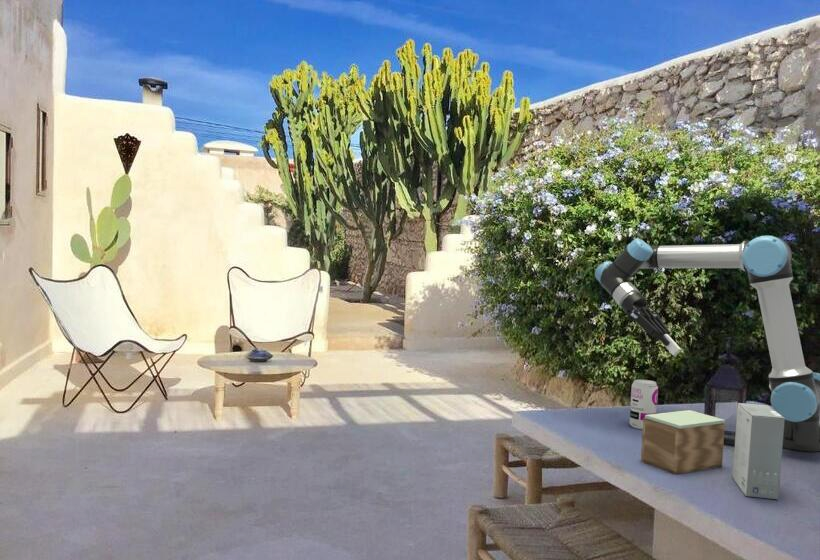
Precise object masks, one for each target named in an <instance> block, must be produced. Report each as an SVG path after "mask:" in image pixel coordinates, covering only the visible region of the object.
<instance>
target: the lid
mask: <svg viewBox="0 0 820 560" xmlns="http://www.w3.org/2000/svg"><path fill="white" fill-rule="evenodd" d="M645 418H647V419H650V420H653V421H656V422H660V423H663V424H666V425H669V426H673V427H676V428H679V429H682V428H690V427H698V426H705V425H713V424H721V423H725V424H726V419H723V418H719V417H716V416H713V415H709V414H706V413H702V412H698V411H695V410H690V409H688V410H679V411H669V412H662V413H661V412H660V413H657V414H650V415H645Z"/></svg>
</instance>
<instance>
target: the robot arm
mask: <svg viewBox="0 0 820 560" xmlns="http://www.w3.org/2000/svg"><path fill="white" fill-rule="evenodd" d="M792 257H793V254H792V250H791V247H790V245H789V244H788V243H787V242H786V241H785V240H783V239H782V238H779V237H776V236H774V235H769V234H767V235H761V236H757V237H754V238H752V240H743V241H742V242H741V243H737V244H735V243H734V244H733V243H731V244H729V243H728V244H725V243H724V244H690V245H689V244H688V245H687V244H686V245H649V244H648V243H647V242H645V241H644V240H642V239H641V238H638V237H636V238H634V239H633V240H632V241H631V242H630V243H628V244H627V246H626V247H625V248H624V249H623V250H622V251H621V253H620V254H619V255H618V256H617V257H616V258H615V260H613V261H611V260H607V261H604V262H602V264H599V265H598V266H597V267H596V269H595V271H594V277H595V279H596V280H597V281H598V282H599V284H600V286H601V287H603V289H605V291H606V292H607V293H608V294H609V295H610V296H611V297H612V298H613V300H614V301H615V303H616V304H617V305H619V307H621V309H622V310H623V311H624V312H625V314H626V315H628V316H629V317H630V319H632V320H633V321H634V322H636V324H637V325H639V326H640V327H641V328H642V329H643V330H644V331H645V332H646V333H648V335H649V336H651V338H655V339H654V341H655V342H658V341H660V343H661V344H662V345H663V346H664V348H666V349H667V351H669V353H670V354H671V355H672V356H675V357H677V355H678V354H679V353H680V351H682V348H681V347H680V346H679V345H678V343H676V341H674V339H672V337H671V336H670V335H671V331H670V330H669V328H668V327H667V325H666V324H665V323H664V321H663V320H662V319H661V317H660V315H659V313H657V312H656V313H653V312H652V310H651V309H650V308H649V307H647V302H648V301H647V299H646V297H644V295H643V294H642V293H641V292H640V291H639V290H638V288H637V287H636V286H635V285H634V284H633V283H632V282H631V281H630V279H631V278H632V277H633V276H634V275H635V273H637V271H638V270H640V269H643V270H644V269H646V270H647V269H741V270H742V271H743V272H747V275H748V281H749V285H750V286H752V287H753V288H754V289H755V290H756V291H757V298H758V303H759V307H760V312H761V316H762V322H763V327H764V333H765V338H766V342H767V347H768V351H769V352H768V353H769V357H770V362H771V367H772V368H773V370H772V368H771V371H770V372H769V374H768V380H769V384H770V387H771V390H770V391H771V395H770V404H771V408H772V409H773V410H774V411H776V412H777V413H779V414H780V415H781V416H783V417H784V418H785V421H784V433H783V446H782V449H783V448H784V449H788V450H792V449H793V450H794V451H799V450H800V452H820V373H819V372H813V370H812V369H810V368H809V367H807V366H806V363H805V358H804V353H803V350H802V344H801V338H800V334H799V333H800V332H799V330H798V329H799V328H798V323H797V319H796V315H795V314H796V313H795V309H794V304H793V300H792V294H791V289H790V288H791V287H790V283H791V282H792V281H793V279H794V275H793V269H792V264H791V262H792ZM793 450H792V451H793Z"/></svg>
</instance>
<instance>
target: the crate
mask: <svg viewBox="0 0 820 560" xmlns="http://www.w3.org/2000/svg"><path fill="white" fill-rule="evenodd" d="M725 426H726V422H725V423H721V424H713V425H705V426H698V427H690V428H682V429H679V428H676V427H673V426H669V425H666V424H663V423H660V422H656V421H653V420H650V419H647V418H643V430H642V436H641V439H642V440H641V452H640V454H641V455H640V462H641V463H643V462H644V464H646V465H648V466H651V465H652V467H654V468H657V469H659V468H660V469H659V470H663V471H665V472H668V473H670V474H672V475H675V476H676V475H680V474H681V475H682V474H687V472H688V473H692V471H694V472H699V471H698V470H700V471H705V469H706V470H711V469H710V468H712V469H716V468H715V467H717V468H722V466H723V457H724V456H723V454H724V443H725V442H724V441H725V440H724V439H725Z"/></svg>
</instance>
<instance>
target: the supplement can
mask: <svg viewBox="0 0 820 560" xmlns="http://www.w3.org/2000/svg"><path fill="white" fill-rule="evenodd" d="M630 390H631V392H630V404H629V405H630V406H629V407H630V408H629V425H630V426H631V427H632V428H634V429H637V430H642V431H643V418H645V415H650V414H658V412H657V410H658V398H659V397H658V395H659V394H658V393H659V386H658V385H657V382H656V381H655V380H648V379H634V380H633V382H632V384H631V388H630Z"/></svg>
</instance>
